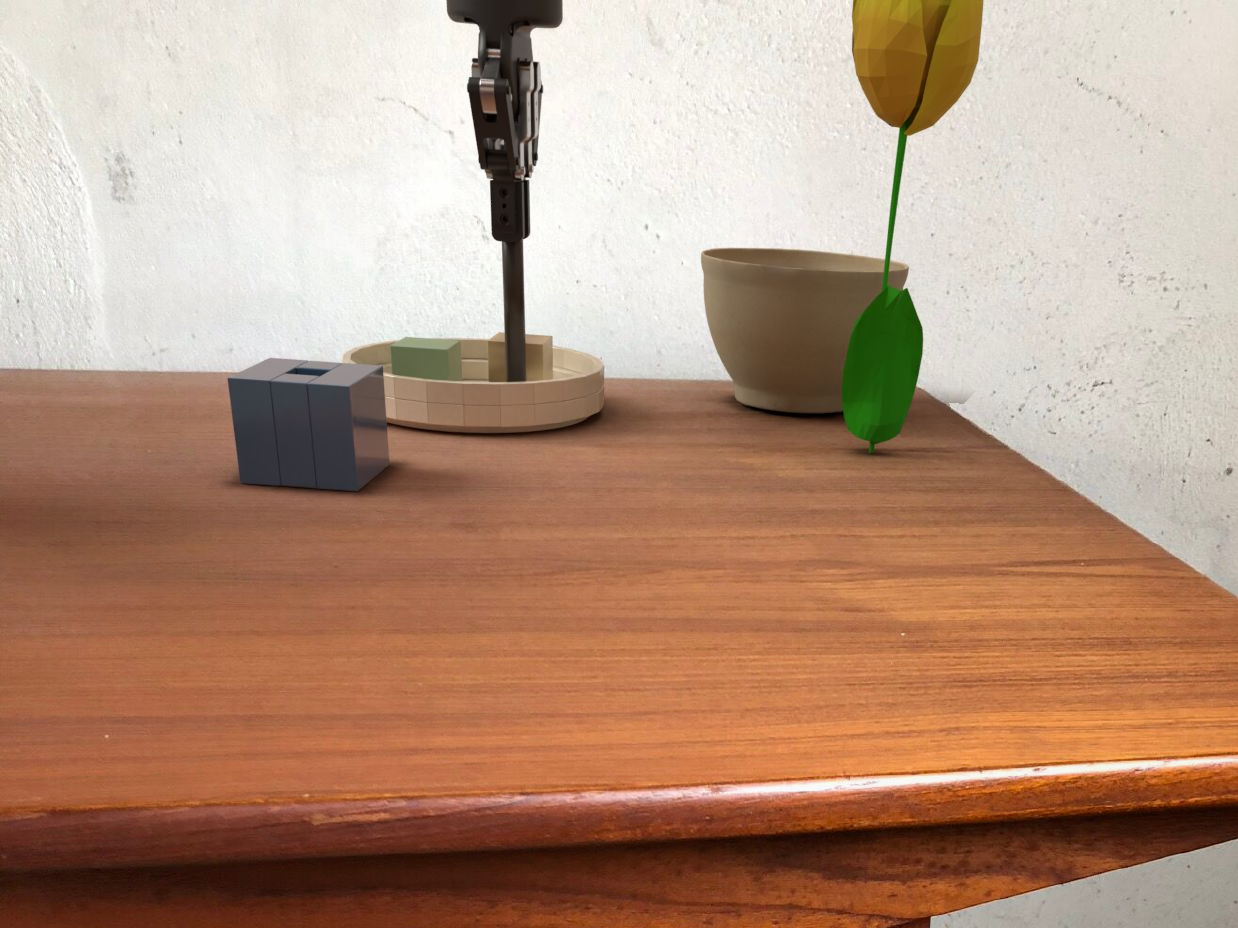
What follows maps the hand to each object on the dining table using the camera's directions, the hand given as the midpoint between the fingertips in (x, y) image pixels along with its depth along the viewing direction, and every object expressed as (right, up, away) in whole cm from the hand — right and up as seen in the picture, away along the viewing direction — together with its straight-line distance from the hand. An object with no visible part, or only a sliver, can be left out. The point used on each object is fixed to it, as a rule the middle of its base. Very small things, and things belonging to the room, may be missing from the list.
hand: (511, 238), depth 99 cm
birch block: (-1, -7, +10) cm, 12 cm away
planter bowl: (+21, -6, +16) cm, 27 cm away
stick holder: (-10, -20, -11) cm, 25 cm away
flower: (+26, -14, +2) cm, 30 cm away
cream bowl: (-4, -9, +8) cm, 13 cm away
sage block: (-7, -9, +6) cm, 13 cm away
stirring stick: (0, -8, +5) cm, 10 cm away
